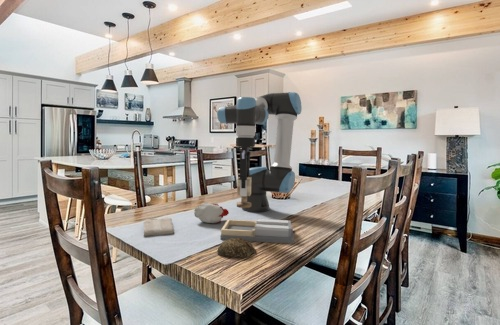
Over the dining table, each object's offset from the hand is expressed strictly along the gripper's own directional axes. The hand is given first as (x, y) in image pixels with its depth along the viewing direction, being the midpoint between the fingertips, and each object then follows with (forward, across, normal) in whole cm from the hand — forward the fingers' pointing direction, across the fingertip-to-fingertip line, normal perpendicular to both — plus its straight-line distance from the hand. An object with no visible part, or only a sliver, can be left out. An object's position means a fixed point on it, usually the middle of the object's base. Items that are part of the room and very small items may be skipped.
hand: (244, 194), depth 116 cm
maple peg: (+5, 0, 0) cm, 5 cm away
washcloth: (+17, -1, -37) cm, 40 cm away
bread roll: (+17, +18, 0) cm, 25 cm away
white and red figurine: (+16, -14, -16) cm, 27 cm away
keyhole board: (+16, 0, +5) cm, 17 cm away
